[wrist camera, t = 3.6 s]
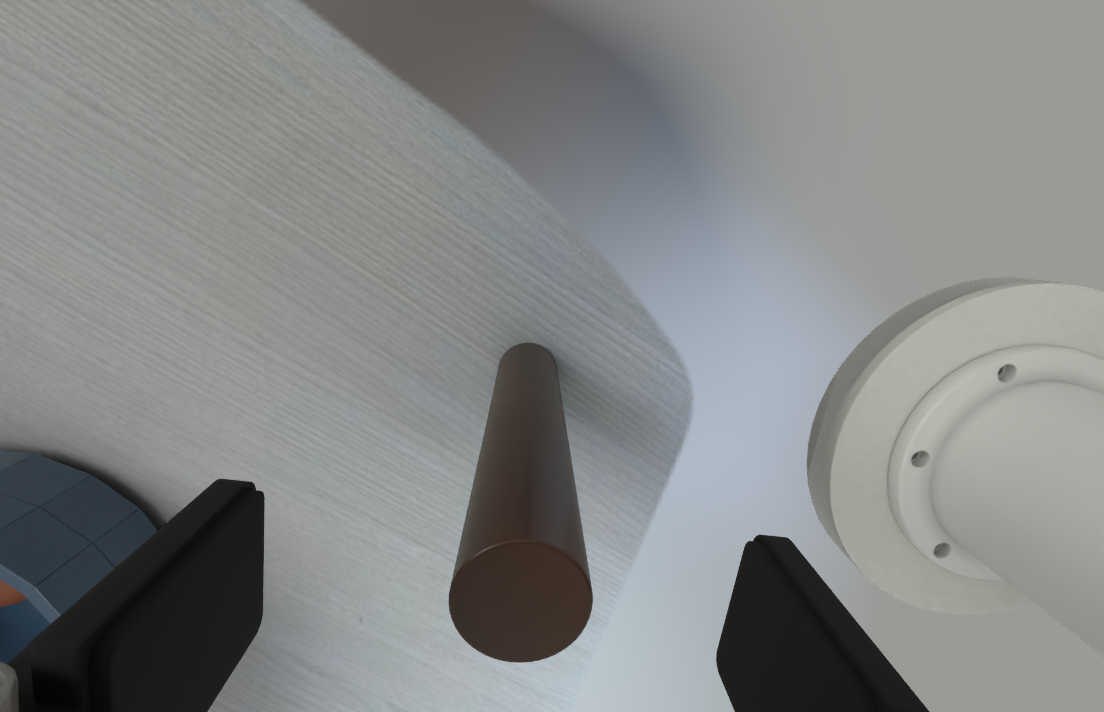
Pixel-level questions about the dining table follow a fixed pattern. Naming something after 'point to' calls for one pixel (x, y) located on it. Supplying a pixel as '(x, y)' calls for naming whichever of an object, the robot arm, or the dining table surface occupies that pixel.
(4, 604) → the bead
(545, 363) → the stick
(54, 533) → the bowl
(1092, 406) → the robot arm
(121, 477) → the dining table surface
